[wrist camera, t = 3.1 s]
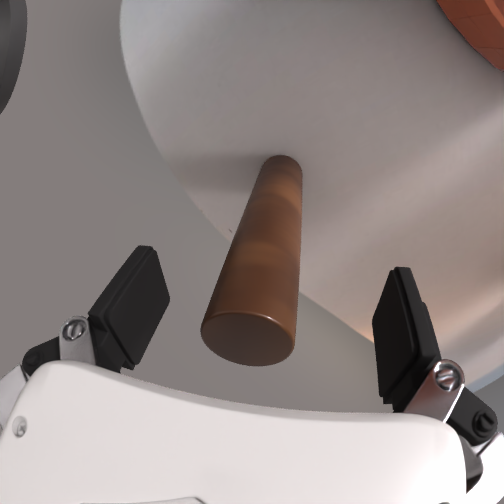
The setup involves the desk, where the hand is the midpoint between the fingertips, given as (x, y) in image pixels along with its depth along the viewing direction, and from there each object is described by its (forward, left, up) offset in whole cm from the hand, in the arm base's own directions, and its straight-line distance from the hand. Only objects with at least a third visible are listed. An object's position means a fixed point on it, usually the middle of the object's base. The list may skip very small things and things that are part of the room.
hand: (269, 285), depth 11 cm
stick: (0, 0, -11) cm, 11 cm away
